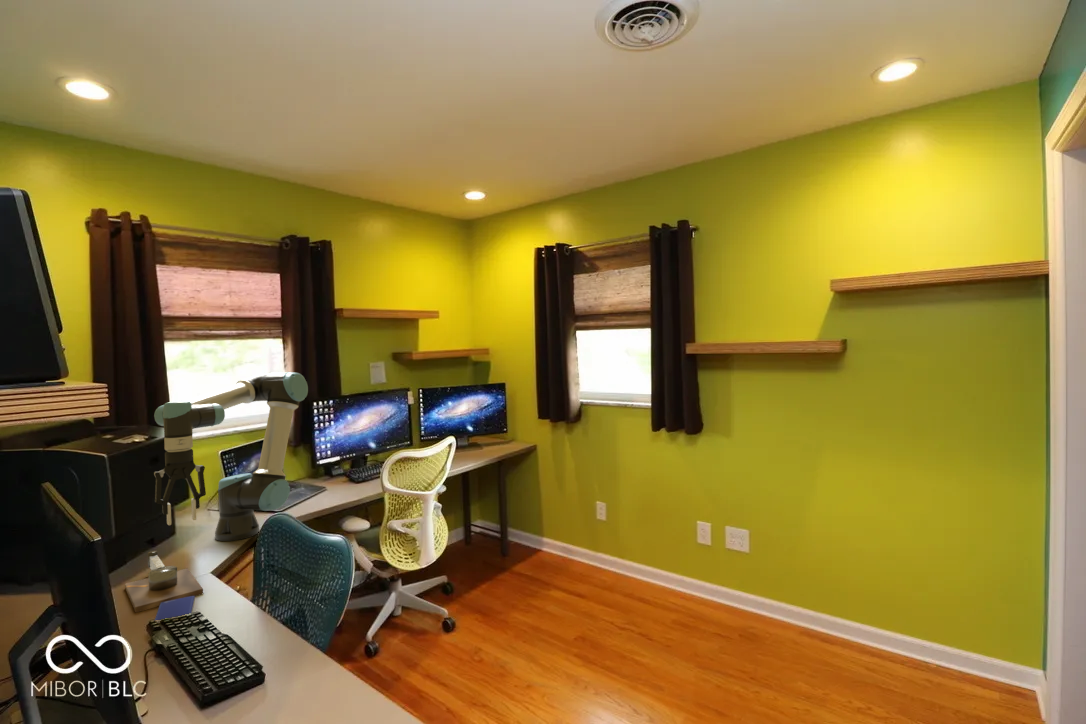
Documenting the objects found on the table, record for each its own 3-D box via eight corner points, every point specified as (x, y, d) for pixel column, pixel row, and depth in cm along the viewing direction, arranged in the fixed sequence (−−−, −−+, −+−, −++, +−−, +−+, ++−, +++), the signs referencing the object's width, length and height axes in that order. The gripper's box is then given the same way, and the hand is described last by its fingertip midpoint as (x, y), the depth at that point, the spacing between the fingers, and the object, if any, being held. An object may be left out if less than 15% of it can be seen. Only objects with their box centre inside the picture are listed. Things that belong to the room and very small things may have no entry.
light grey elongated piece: (179, 584, 162) (179, 567, 162) (150, 592, 157) (150, 574, 157) (165, 564, 179) (164, 548, 179) (139, 570, 174) (138, 554, 174)
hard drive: (160, 602, 153) (153, 620, 142) (194, 595, 157) (191, 612, 146) (160, 607, 153) (154, 626, 142) (195, 600, 157) (191, 618, 146)
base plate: (187, 572, 176) (187, 567, 176) (203, 593, 160) (203, 588, 160) (125, 588, 165) (124, 583, 165) (135, 612, 149) (135, 606, 149)
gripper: (144, 455, 165) (147, 531, 166) (215, 446, 178) (218, 517, 179) (140, 452, 171) (143, 526, 171) (210, 444, 184) (212, 512, 184)
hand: (181, 521), depth 175 cm, fingers open, 6 cm apart
